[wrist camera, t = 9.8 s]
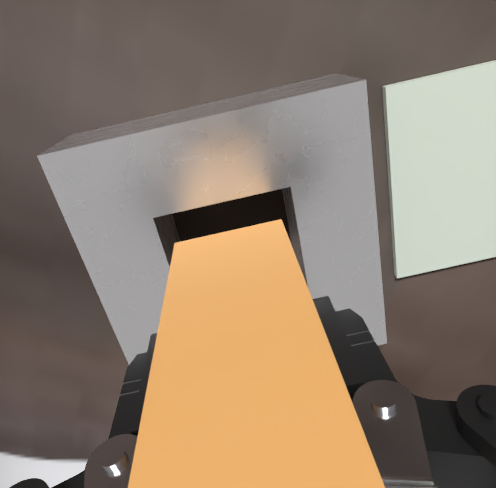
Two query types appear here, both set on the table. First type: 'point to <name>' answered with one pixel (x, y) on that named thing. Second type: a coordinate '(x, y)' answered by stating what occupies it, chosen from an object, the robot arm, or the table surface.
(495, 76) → the mat
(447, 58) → the table surface
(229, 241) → the key peg
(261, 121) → the socket block
